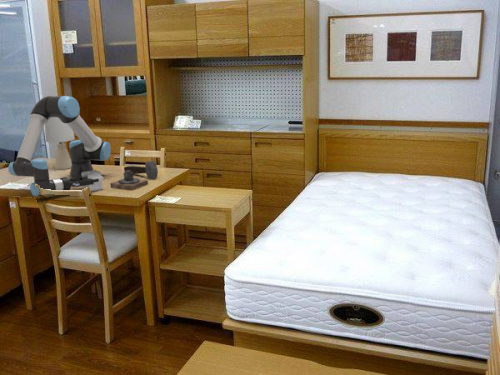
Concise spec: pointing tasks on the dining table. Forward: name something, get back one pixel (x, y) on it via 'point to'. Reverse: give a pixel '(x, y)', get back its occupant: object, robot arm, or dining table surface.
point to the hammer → (145, 169)
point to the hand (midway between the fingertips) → (99, 177)
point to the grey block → (89, 176)
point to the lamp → (59, 133)
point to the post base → (129, 182)
